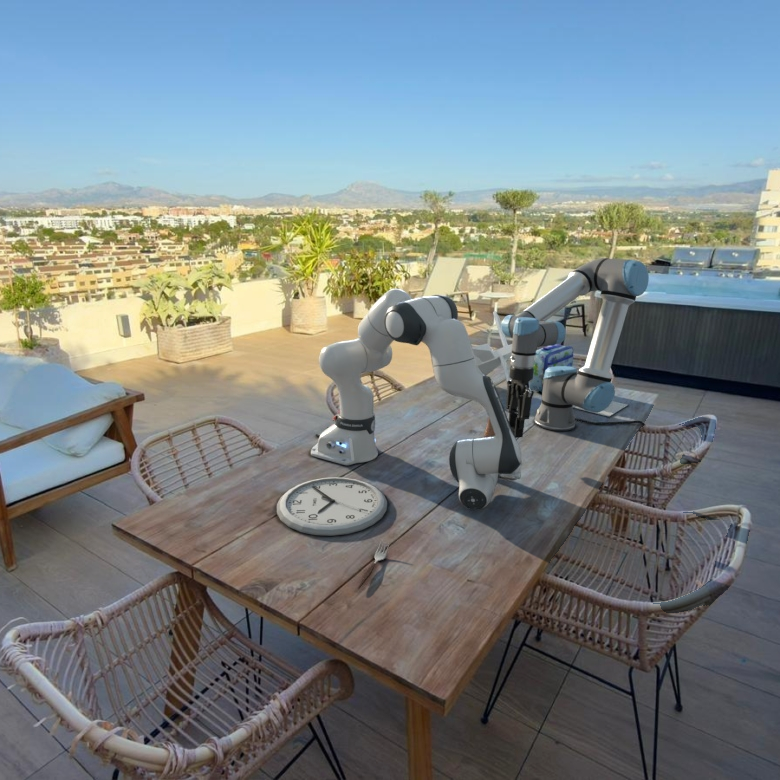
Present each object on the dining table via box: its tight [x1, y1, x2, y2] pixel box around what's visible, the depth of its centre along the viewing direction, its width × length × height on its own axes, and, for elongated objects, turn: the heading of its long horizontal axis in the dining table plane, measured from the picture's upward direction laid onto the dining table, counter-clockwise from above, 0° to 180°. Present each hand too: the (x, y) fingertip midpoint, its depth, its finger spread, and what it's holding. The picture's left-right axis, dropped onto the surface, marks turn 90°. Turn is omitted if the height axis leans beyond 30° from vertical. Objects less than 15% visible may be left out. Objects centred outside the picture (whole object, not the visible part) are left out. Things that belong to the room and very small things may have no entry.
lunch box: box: [529, 344, 574, 393], centre depth 247 cm, size 26×11×21 cm, turn 134°
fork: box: [357, 541, 391, 589], centre depth 116 cm, size 3×16×2 cm, turn 160°
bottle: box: [483, 417, 495, 438], centre depth 159 cm, size 4×4×19 cm
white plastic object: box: [472, 310, 512, 382], centre depth 245 cm, size 37×45×31 cm
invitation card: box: [573, 400, 629, 418], centre depth 226 cm, size 21×1×15 cm
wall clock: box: [276, 476, 388, 537], centre depth 142 cm, size 30×2×30 cm
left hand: (489, 455), depth 161 cm, fingers closed on bottle, 4 cm apart
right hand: (514, 434), depth 174 cm, fingers closed on cap, 4 cm apart
